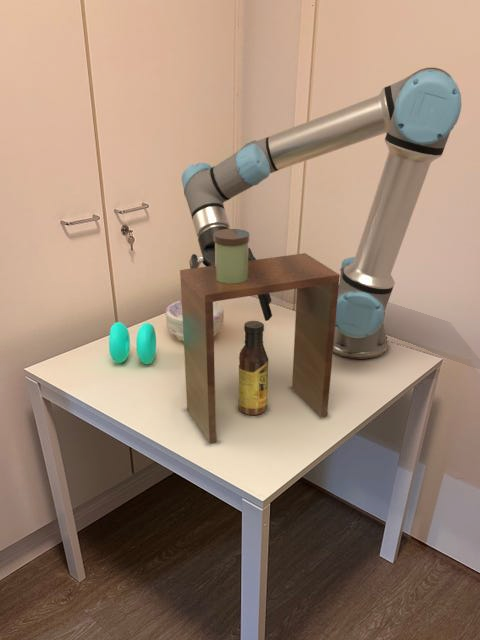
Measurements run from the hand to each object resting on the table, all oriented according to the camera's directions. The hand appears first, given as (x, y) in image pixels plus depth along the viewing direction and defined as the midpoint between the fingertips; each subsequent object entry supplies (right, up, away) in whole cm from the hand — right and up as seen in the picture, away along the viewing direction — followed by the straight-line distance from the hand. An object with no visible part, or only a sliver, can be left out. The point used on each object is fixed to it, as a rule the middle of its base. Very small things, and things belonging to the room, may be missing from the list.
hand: (239, 323), depth 135 cm
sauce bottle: (+3, -18, +4) cm, 19 cm away
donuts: (-26, -6, +23) cm, 35 cm away
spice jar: (-1, +6, -17) cm, 18 cm away
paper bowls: (-12, +2, +35) cm, 37 cm away
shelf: (+4, -19, +2) cm, 20 cm away
